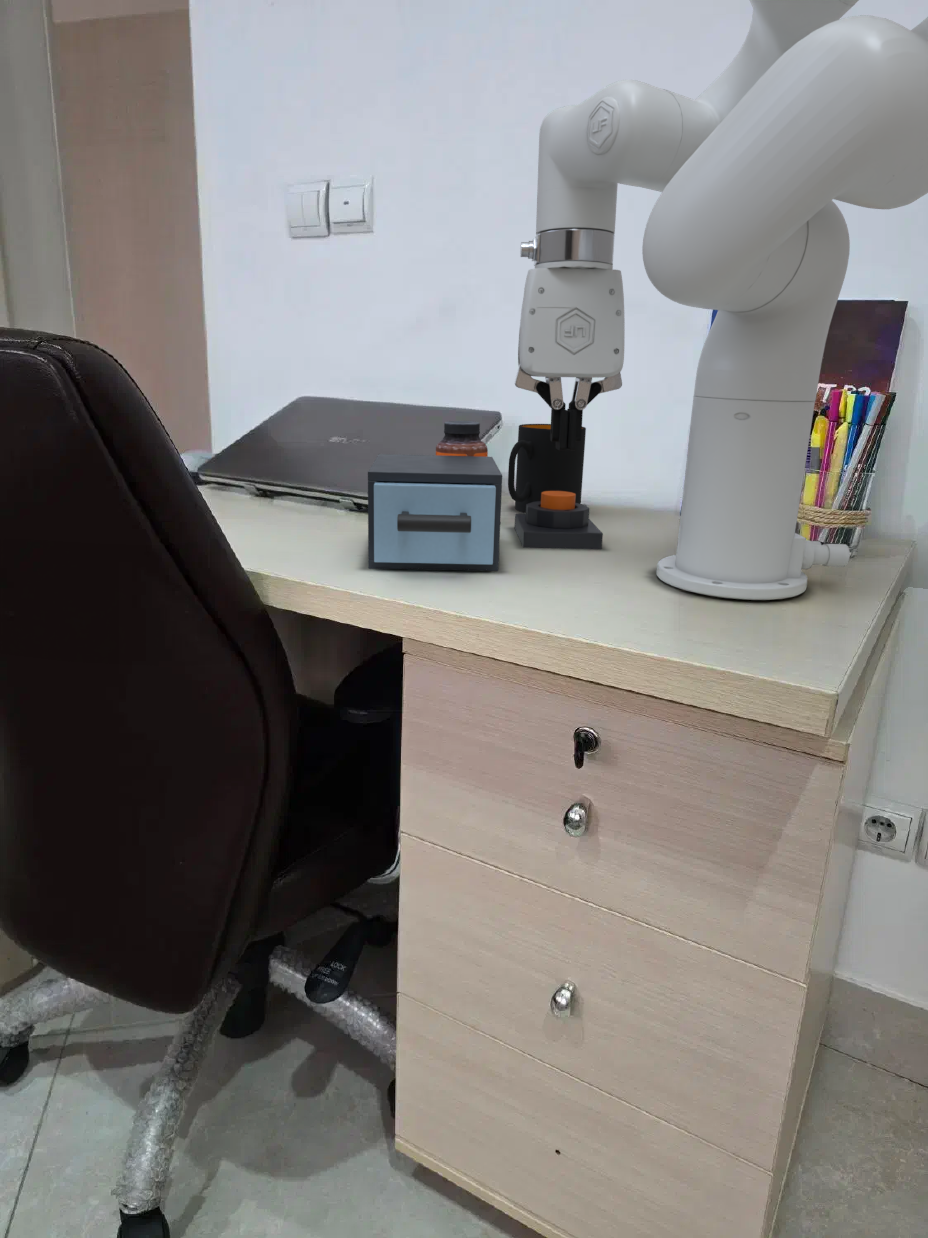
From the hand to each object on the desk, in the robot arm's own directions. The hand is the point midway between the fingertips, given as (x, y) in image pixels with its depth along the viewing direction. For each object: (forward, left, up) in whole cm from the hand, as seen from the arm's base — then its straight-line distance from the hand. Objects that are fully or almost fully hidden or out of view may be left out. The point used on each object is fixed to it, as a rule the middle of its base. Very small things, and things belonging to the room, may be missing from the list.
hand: (565, 448), depth 85 cm
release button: (0, -1, -6) cm, 6 cm away
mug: (0, -17, -10) cm, 19 cm away
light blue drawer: (+13, +11, -9) cm, 19 cm away
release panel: (0, -1, -10) cm, 10 cm away
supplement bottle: (+10, -9, -10) cm, 17 cm away
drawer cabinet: (+13, +7, -10) cm, 18 cm away
